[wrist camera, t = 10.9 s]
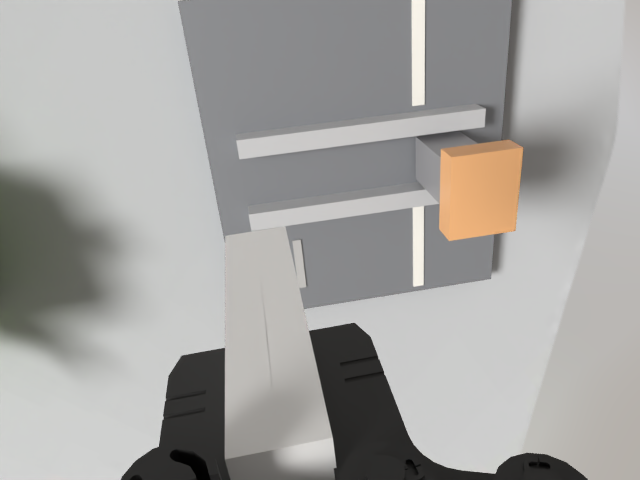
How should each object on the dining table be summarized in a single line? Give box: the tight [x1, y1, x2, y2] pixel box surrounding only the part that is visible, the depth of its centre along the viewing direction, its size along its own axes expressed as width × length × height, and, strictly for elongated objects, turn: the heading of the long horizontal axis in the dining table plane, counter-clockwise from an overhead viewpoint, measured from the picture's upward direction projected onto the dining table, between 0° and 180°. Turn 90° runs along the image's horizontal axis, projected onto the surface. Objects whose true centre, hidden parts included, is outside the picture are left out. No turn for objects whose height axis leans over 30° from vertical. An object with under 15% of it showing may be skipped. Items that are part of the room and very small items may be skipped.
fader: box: [416, 131, 523, 241], centre depth 32 cm, size 4×5×8 cm
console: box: [178, 0, 512, 309], centre depth 35 cm, size 20×22×3 cm
